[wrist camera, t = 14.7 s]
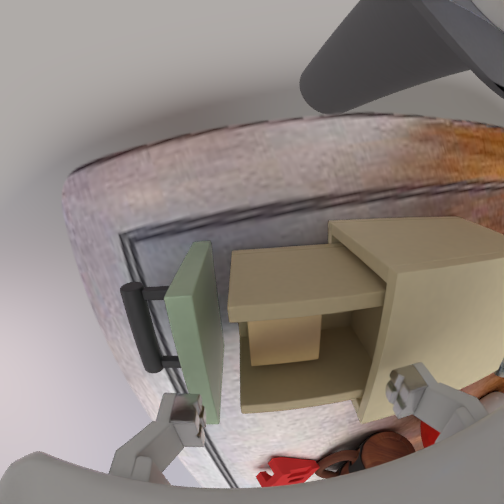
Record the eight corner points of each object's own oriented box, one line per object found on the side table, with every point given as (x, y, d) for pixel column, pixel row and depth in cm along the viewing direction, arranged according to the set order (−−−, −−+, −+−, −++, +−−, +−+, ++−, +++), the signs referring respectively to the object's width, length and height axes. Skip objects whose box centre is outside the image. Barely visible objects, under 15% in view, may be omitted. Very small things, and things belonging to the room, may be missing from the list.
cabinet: (322, 335, 22) (360, 424, 13) (327, 220, 19) (397, 273, 10) (440, 313, 22) (498, 369, 13) (457, 216, 19) (538, 250, 10)
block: (244, 276, 18) (246, 308, 14) (306, 271, 18) (323, 301, 14) (248, 329, 19) (251, 366, 15) (305, 323, 19) (318, 359, 15)
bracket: (283, 474, 25) (272, 458, 27) (265, 492, 25) (255, 476, 28) (319, 467, 28) (308, 452, 30) (301, 485, 28) (291, 471, 31)
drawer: (161, 346, 21) (136, 420, 13) (138, 246, 18) (83, 298, 11) (352, 331, 21) (392, 399, 13) (362, 230, 18) (426, 272, 11)
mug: (331, 465, 22) (296, 496, 26) (417, 484, 18) (368, 514, 22) (346, 414, 30) (314, 454, 34) (419, 435, 26) (378, 473, 30)
